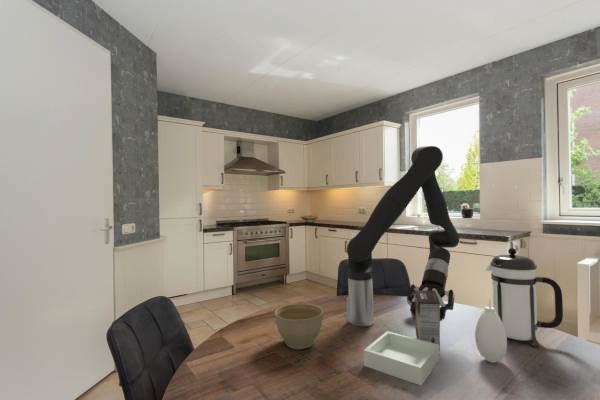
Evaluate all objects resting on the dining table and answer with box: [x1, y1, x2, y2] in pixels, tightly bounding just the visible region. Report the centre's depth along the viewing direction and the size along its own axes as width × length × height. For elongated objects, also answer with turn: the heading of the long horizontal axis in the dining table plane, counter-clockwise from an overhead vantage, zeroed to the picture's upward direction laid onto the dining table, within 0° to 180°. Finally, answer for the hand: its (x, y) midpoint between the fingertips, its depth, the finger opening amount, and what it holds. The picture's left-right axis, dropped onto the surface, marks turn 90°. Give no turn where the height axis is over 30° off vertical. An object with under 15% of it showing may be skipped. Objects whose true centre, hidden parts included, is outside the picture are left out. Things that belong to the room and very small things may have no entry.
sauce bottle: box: [474, 298, 508, 364], centre depth 89 cm, size 8×8×18 cm
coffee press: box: [485, 247, 564, 348], centre depth 103 cm, size 17×16×30 cm
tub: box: [363, 330, 440, 386], centre depth 90 cm, size 16×16×4 cm
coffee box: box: [415, 290, 441, 353], centre depth 99 cm, size 9×6×16 cm
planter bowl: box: [274, 303, 324, 350], centre depth 104 cm, size 16×16×11 cm
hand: (426, 316), depth 101 cm, fingers closed on coffee box, 8 cm apart
